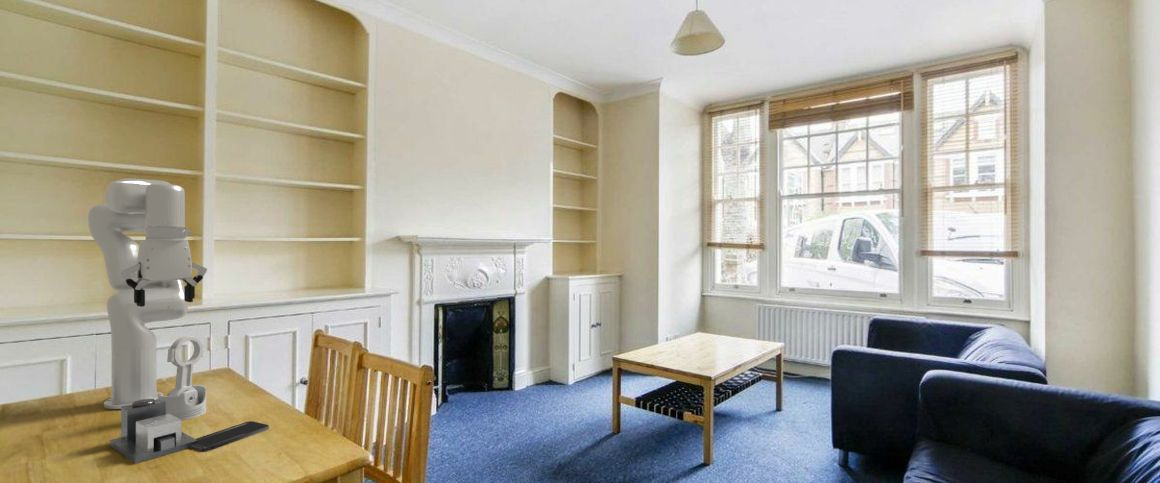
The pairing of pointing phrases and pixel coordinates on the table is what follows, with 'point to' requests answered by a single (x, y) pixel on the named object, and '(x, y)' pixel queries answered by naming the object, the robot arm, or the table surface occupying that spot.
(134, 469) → the table surface
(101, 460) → the table surface
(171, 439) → the coupler
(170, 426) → the block
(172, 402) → the engine component
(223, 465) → the table surface
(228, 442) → the phone
